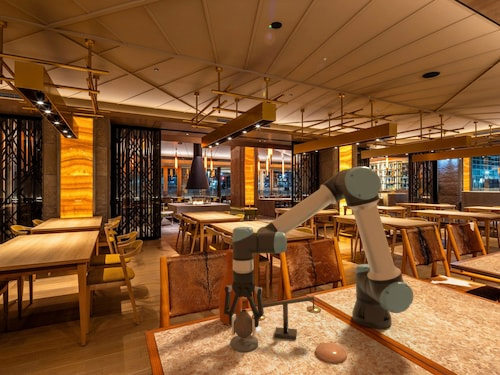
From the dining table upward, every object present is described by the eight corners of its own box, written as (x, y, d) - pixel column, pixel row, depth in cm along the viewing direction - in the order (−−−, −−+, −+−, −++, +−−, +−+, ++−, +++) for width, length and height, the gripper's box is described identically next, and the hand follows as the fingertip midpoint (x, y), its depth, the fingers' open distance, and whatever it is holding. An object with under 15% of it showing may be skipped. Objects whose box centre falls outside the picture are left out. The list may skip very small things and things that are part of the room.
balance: (321, 335, 105) (320, 294, 105) (321, 342, 100) (320, 300, 100) (253, 328, 111) (252, 290, 111) (250, 335, 106) (250, 295, 106)
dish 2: (345, 347, 97) (345, 344, 97) (348, 364, 87) (348, 361, 87) (315, 344, 99) (315, 341, 99) (315, 360, 89) (315, 357, 90)
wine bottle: (245, 317, 121) (244, 248, 122) (237, 327, 112) (236, 253, 112) (225, 314, 125) (224, 247, 125) (215, 324, 115) (214, 251, 116)
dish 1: (260, 338, 104) (260, 335, 104) (255, 353, 94) (255, 350, 94) (234, 335, 106) (234, 333, 106) (226, 350, 96) (226, 347, 96)
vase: (251, 341, 96) (251, 315, 96) (232, 339, 97) (231, 314, 97) (255, 331, 103) (254, 307, 103) (237, 329, 104) (236, 306, 104)
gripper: (271, 268, 102) (272, 332, 101) (220, 266, 106) (221, 326, 106) (268, 274, 94) (269, 343, 94) (213, 271, 99) (214, 337, 99)
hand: (244, 334), depth 100 cm, fingers closed on vase, 7 cm apart
